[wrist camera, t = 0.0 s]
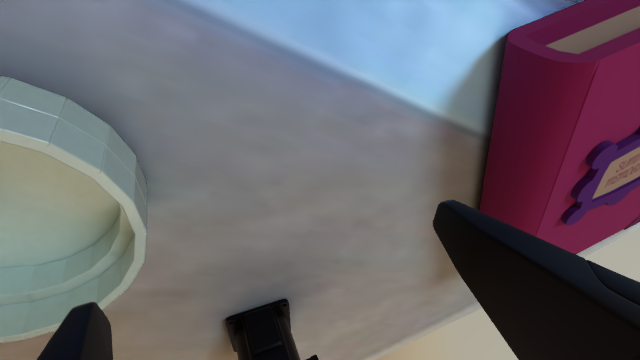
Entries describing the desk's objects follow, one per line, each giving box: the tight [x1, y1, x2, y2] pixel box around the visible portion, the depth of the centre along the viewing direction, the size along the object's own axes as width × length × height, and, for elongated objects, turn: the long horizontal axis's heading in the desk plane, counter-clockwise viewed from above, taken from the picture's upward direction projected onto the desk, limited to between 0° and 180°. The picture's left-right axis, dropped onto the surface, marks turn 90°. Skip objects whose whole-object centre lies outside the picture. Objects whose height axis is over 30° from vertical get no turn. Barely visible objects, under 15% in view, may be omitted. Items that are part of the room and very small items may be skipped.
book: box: [479, 0, 640, 254], centre depth 34 cm, size 21×28×8 cm
